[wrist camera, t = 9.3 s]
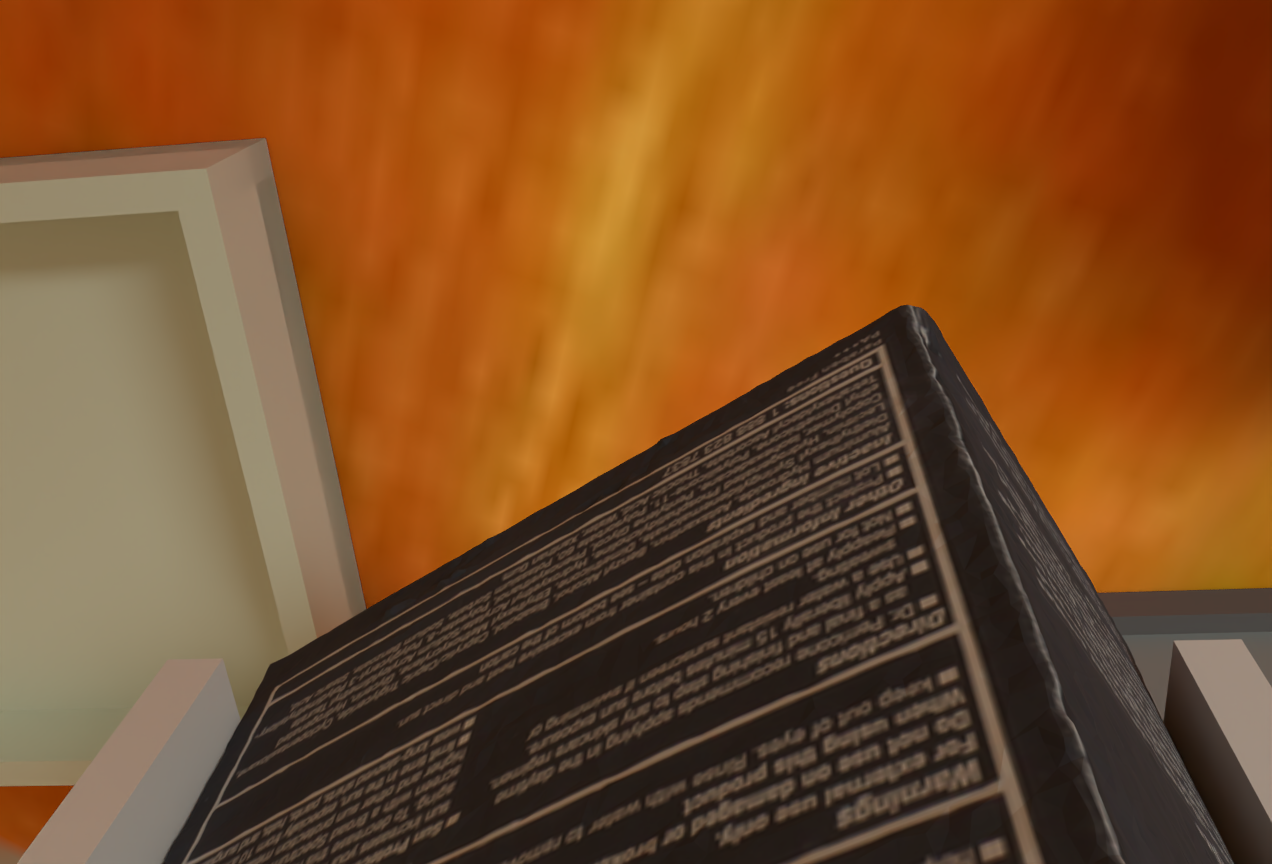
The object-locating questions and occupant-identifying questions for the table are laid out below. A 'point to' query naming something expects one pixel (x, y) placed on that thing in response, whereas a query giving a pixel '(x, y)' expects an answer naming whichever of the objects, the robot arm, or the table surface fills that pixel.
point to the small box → (735, 665)
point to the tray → (153, 442)
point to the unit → (1189, 627)
